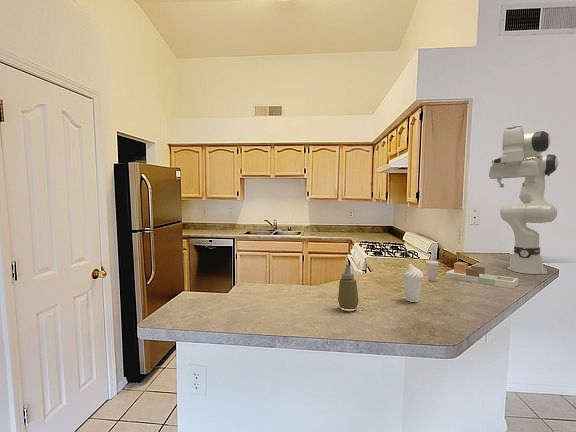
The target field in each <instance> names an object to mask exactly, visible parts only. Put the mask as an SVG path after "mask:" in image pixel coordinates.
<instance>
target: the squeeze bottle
mask: <svg viewBox="0 0 576 432" xmlns="http://www.w3.org/2000/svg"><path fill="white" fill-rule="evenodd" d="M344 269H345V270H344V272H343V273H341V278H340V279H339V285H338V296H337V297H338V299H337V302H338V304H339V308H340V307H341V308H344V309H355V308H356V309H357V308H358V304H359V293H358V283H357V280H356V278H355V274H354V272H351V266H350V264H346V265H345V268H344ZM341 308H340V309H341Z"/></svg>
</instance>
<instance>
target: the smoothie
mask: <svg viewBox="0 0 576 432" xmlns="http://www.w3.org/2000/svg"><path fill="white" fill-rule="evenodd" d="M430 254H431V260H426V261H425V264H426V270H427V271H426V272H427V279H428V281H431V282H437V276H438V272H439V271H438V270H439V264H440V261H436V260H433V253H430Z"/></svg>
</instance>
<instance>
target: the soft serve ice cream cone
mask: <svg viewBox="0 0 576 432" xmlns="http://www.w3.org/2000/svg"><path fill="white" fill-rule="evenodd" d="M406 267H407V268H406V269H405V270H404V271H403V272H402V274H401V277H402V279H403V280H402V281H403V285H404V286H403V289H404V292H405V295H406V296H405V297H406V301H407V302H408V301H410V302H409V303H411V302H417V303H419V299H420V296H421V295H420V294H421V290H422V288H421V287H422V282H423V280H422V279H423V278H424V273H423V272H422V271H421V270H420V269H419V268H418V267H415V266H414V265H413V264H412V263H409V264H408V265H407V266H406Z"/></svg>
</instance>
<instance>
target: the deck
mask: <svg viewBox="0 0 576 432" xmlns="http://www.w3.org/2000/svg"><path fill="white" fill-rule="evenodd" d="M470 267H471V268H466V273H465V274H460V273H454V268H453V269H449V270H448V271H446V272H444V278H445V279H449V280H455V281H461V282H467V283H469V282H470V283H475V284H480V283H481V285H488V286H492V287H493V286H494V287H500V288H506V289H515V288H516V287H518V286H519V281H520V280H519V278H518V277H510V276H503V275H495V274H489V273H485V272H486V271H485V267H483V266H475V265H471V266H470Z"/></svg>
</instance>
